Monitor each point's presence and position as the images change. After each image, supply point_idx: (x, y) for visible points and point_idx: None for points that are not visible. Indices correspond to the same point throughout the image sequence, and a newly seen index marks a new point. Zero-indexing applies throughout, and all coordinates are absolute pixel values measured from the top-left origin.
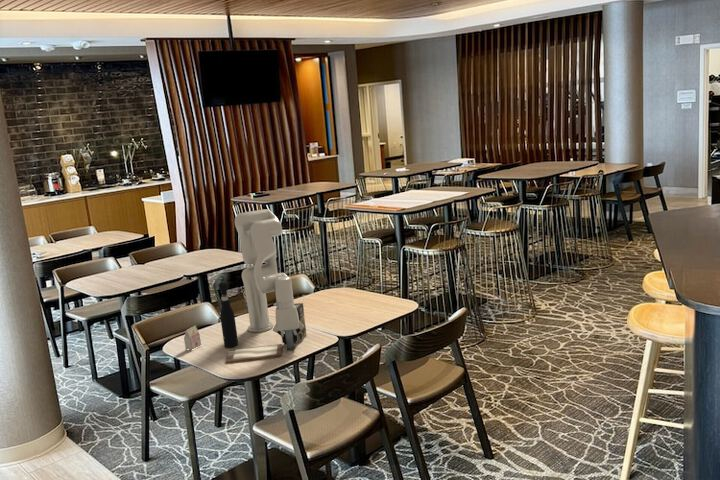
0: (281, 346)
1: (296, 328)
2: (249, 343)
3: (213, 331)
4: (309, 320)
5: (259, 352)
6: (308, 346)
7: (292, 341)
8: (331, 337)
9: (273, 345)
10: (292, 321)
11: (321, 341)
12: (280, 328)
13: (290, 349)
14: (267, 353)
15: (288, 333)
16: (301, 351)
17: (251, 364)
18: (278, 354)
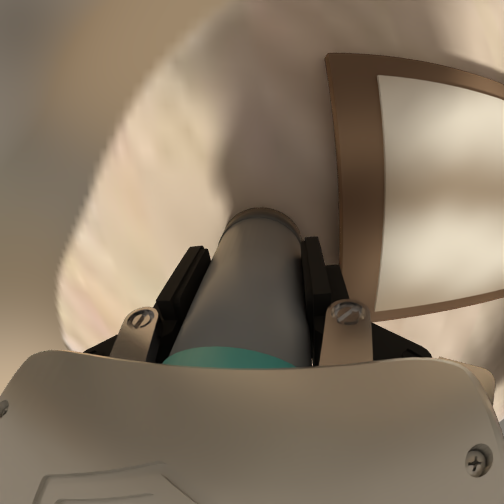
0: (345, 276)
1: (49, 352)
2: (480, 358)
3: (498, 416)
4: None
5: (501, 182)
6: (133, 262)
7: (216, 256)
8: (79, 344)
9: (405, 302)
10: (17, 496)
11: (95, 316)
12: (416, 409)
13: (257, 211)
14: (456, 130)
15: (229, 322)
16: (154, 167)
17: (500, 28)
18: (356, 73)
